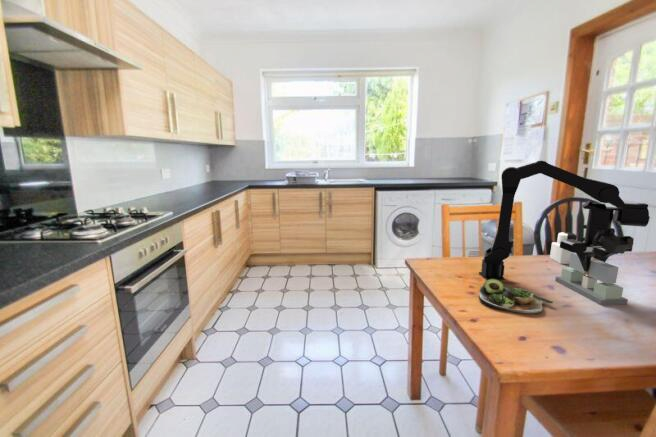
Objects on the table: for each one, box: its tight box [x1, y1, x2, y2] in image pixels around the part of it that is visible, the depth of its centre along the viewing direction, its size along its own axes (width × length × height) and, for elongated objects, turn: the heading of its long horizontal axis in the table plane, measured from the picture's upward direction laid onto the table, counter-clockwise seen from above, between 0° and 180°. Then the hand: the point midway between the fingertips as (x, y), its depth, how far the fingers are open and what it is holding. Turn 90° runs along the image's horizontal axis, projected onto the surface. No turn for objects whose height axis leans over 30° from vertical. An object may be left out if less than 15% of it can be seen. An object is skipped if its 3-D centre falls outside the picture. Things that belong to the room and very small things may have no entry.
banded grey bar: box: [568, 253, 619, 284], centre depth 98 cm, size 3×14×5 cm, turn 1°
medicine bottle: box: [549, 231, 578, 265], centre depth 127 cm, size 7×7×12 cm
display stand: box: [554, 266, 628, 306], centre depth 100 cm, size 8×18×5 cm, turn 1°
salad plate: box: [478, 279, 554, 315], centre depth 95 cm, size 19×18×5 cm
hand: (591, 271), depth 99 cm, fingers open, 3 cm apart
